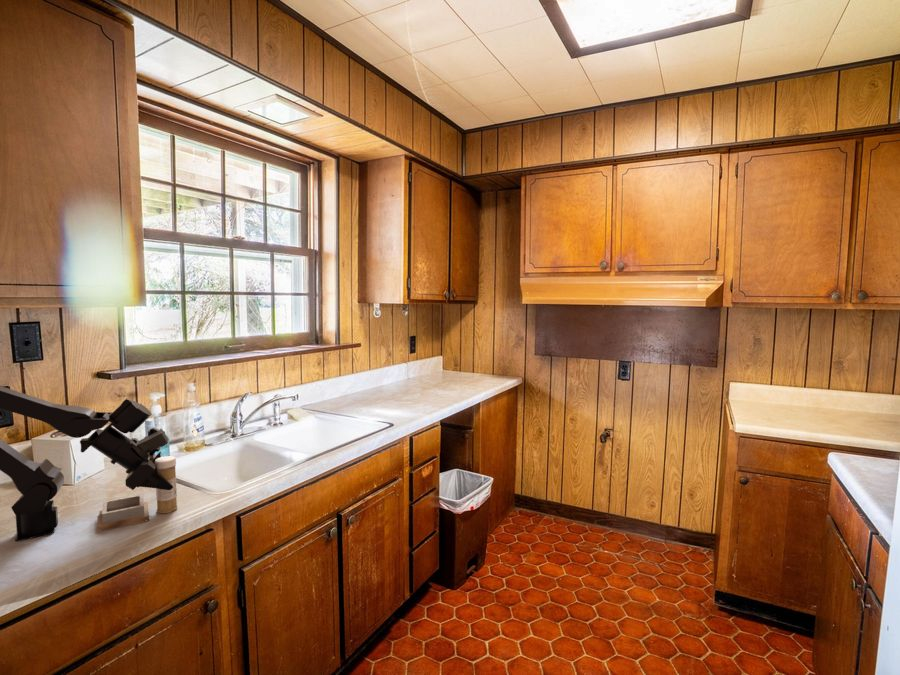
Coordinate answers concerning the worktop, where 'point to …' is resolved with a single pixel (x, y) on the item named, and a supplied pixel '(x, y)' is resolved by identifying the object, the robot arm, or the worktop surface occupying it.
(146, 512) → the baseplate
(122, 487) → the worktop surface
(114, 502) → the collar
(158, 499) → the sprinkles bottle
